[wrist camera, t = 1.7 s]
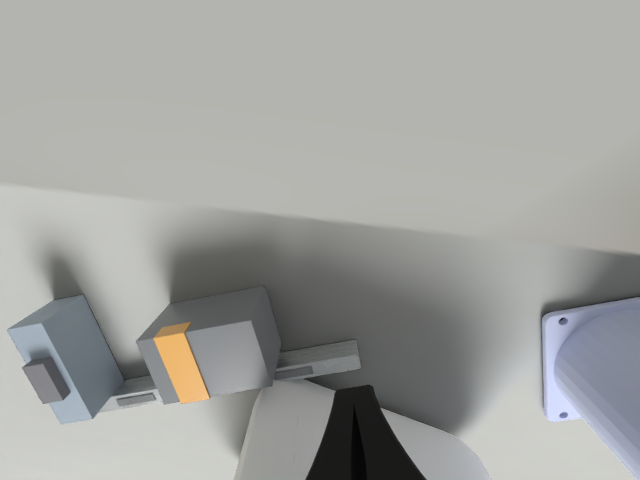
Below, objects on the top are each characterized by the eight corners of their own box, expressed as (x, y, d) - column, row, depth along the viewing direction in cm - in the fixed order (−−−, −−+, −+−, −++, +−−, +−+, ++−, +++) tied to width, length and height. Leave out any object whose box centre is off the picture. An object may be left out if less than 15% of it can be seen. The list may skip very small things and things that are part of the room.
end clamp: (83, 294, 21) (31, 329, 17) (124, 380, 23) (85, 427, 19) (53, 300, 21) (-5, 336, 17) (96, 384, 23) (52, 433, 19)
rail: (355, 339, 21) (358, 355, 20) (358, 352, 22) (361, 369, 20) (89, 386, 23) (72, 404, 21) (95, 397, 23) (79, 416, 22)
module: (265, 283, 20) (250, 320, 17) (282, 341, 22) (272, 388, 18) (170, 302, 21) (134, 342, 17) (192, 357, 22) (163, 406, 18)
